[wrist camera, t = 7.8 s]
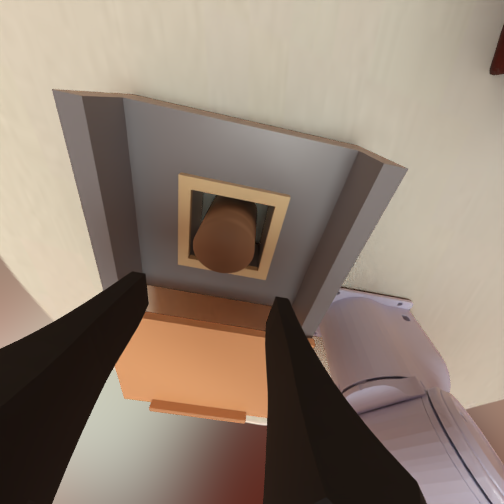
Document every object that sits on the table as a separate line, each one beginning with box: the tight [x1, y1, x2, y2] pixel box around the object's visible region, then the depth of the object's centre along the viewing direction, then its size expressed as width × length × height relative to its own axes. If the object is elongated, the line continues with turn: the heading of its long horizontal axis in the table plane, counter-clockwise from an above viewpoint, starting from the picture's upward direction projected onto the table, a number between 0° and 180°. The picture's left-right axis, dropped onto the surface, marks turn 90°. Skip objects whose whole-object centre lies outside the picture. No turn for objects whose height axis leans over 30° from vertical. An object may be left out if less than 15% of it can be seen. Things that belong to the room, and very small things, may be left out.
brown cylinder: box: [193, 195, 257, 273], centre depth 17 cm, size 4×4×6 cm
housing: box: [52, 89, 408, 338], centre depth 17 cm, size 16×14×7 cm
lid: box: [115, 312, 315, 423], centre depth 20 cm, size 16×14×1 cm
